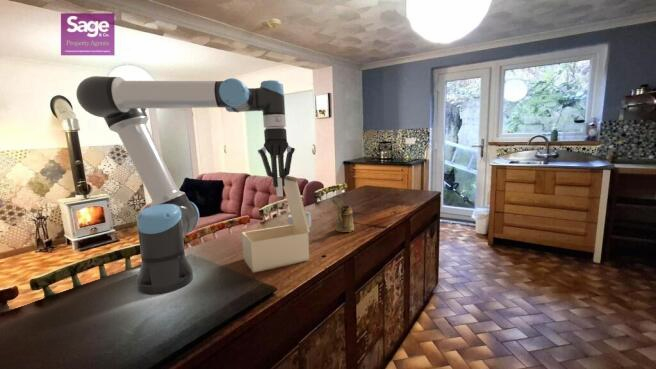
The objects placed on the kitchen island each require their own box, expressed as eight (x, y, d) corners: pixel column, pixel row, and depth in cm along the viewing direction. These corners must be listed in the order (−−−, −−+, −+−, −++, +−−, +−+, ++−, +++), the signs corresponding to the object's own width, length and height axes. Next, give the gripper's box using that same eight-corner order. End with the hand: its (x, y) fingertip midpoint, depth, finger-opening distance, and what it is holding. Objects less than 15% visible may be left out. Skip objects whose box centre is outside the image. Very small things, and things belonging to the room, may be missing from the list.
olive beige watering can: (327, 234, 140) (326, 195, 137) (341, 226, 151) (340, 190, 149) (345, 236, 135) (344, 196, 133) (357, 228, 147) (357, 191, 144)
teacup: (300, 235, 139) (300, 218, 138) (283, 231, 146) (283, 215, 144) (320, 228, 150) (319, 212, 149) (303, 225, 156) (302, 209, 155)
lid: (294, 178, 103) (296, 177, 104) (280, 175, 116) (282, 174, 116) (308, 232, 108) (310, 231, 108) (293, 223, 120) (295, 223, 121)
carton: (253, 272, 100) (251, 243, 99) (243, 258, 112) (241, 232, 111) (309, 260, 109) (308, 233, 108) (294, 248, 122) (293, 224, 120)
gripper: (259, 128, 99) (264, 199, 103) (296, 127, 105) (300, 195, 108) (253, 129, 106) (258, 196, 109) (289, 128, 112) (293, 192, 115)
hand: (279, 195), depth 109 cm, fingers closed
